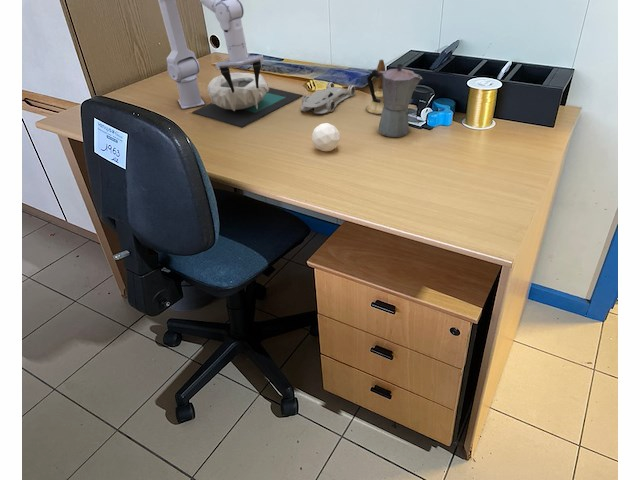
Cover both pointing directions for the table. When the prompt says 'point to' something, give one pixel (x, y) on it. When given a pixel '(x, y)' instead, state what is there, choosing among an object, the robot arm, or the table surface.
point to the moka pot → (394, 99)
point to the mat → (249, 108)
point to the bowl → (237, 91)
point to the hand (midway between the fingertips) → (245, 89)
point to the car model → (326, 99)
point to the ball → (325, 137)
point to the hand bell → (378, 93)
